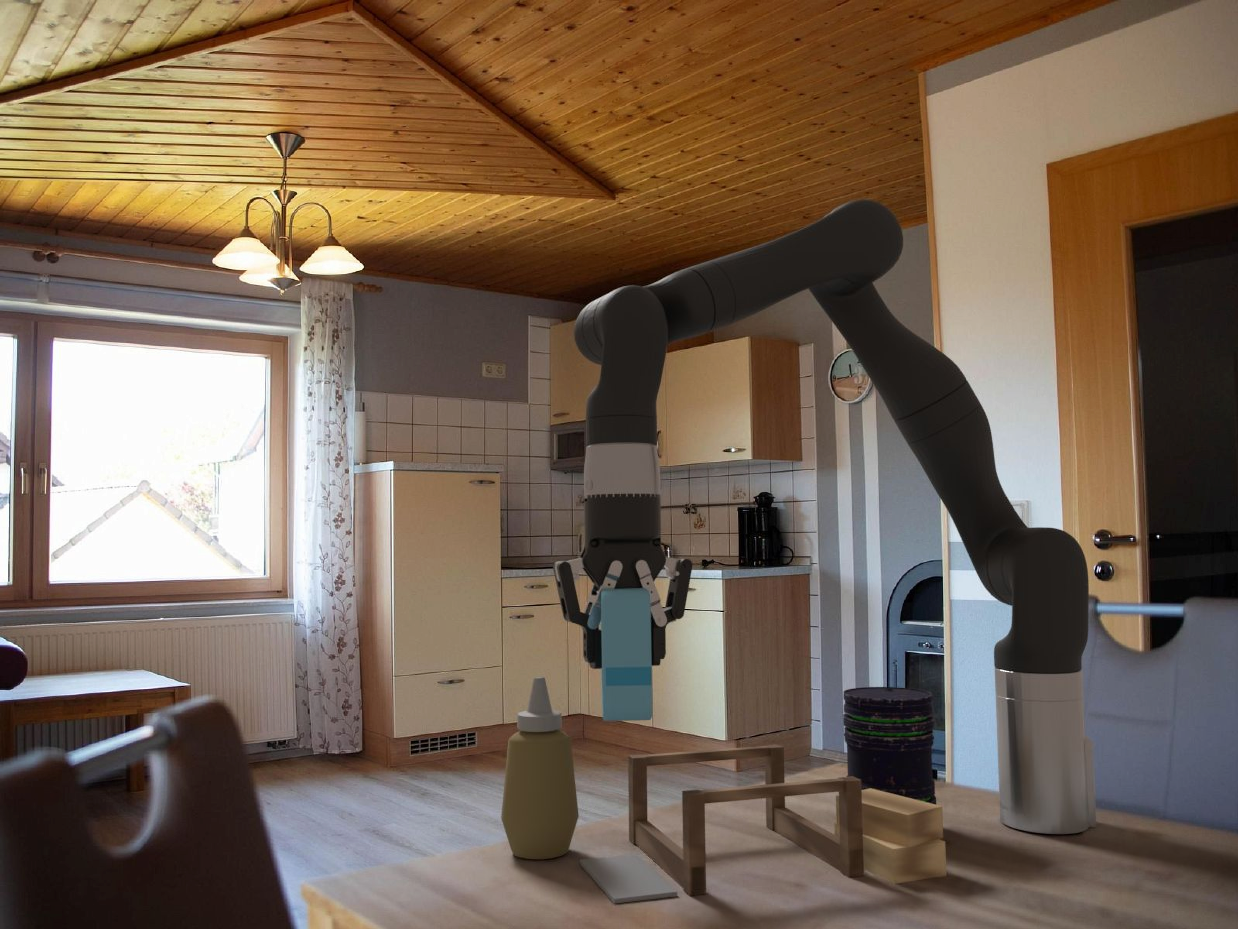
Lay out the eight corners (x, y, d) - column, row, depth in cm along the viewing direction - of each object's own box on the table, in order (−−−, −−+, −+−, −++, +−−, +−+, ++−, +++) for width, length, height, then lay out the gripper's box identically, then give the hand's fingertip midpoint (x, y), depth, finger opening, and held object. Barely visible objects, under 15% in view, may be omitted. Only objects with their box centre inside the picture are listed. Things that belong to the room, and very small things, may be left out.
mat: (637, 858, 105) (637, 854, 105) (677, 896, 94) (677, 891, 94) (580, 864, 104) (580, 859, 104) (614, 903, 92) (613, 899, 92)
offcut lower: (884, 850, 108) (883, 816, 108) (946, 879, 99) (945, 841, 99) (835, 857, 106) (834, 822, 106) (893, 887, 97) (892, 849, 97)
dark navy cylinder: (935, 845, 109) (931, 701, 110) (840, 837, 112) (837, 697, 113) (938, 821, 118) (934, 688, 119) (851, 814, 121) (847, 685, 122)
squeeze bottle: (590, 845, 110) (588, 674, 111) (561, 868, 102) (560, 684, 104) (520, 839, 113) (520, 672, 114) (487, 860, 105) (487, 681, 106)
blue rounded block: (652, 723, 94) (650, 590, 95) (603, 724, 94) (601, 591, 95) (645, 702, 106) (643, 585, 107) (601, 703, 106) (600, 585, 107)
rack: (779, 825, 117) (777, 744, 118) (863, 875, 99) (861, 780, 100) (629, 840, 112) (628, 755, 112) (689, 896, 94) (688, 794, 95)
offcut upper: (870, 817, 108) (870, 788, 108) (943, 837, 100) (942, 806, 101) (836, 826, 105) (836, 796, 105) (908, 847, 97) (907, 815, 98)
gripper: (678, 494, 107) (680, 659, 106) (542, 494, 103) (543, 665, 102) (704, 490, 100) (707, 667, 99) (560, 490, 96) (561, 675, 95)
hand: (624, 665), depth 100 cm, fingers closed on blue rounded block, 5 cm apart
